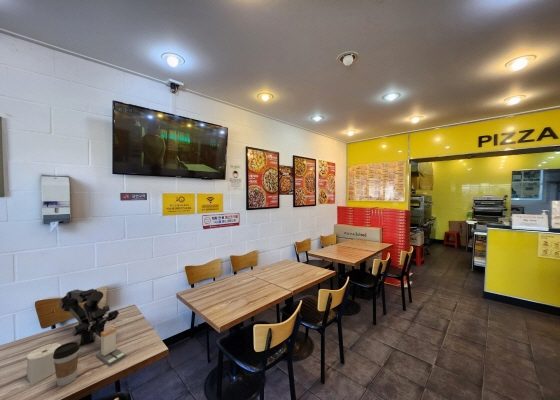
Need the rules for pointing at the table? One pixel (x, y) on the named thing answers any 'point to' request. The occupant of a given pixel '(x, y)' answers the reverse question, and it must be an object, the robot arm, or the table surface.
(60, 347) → the coffee cup
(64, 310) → the robot arm
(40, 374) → the toilet tissue
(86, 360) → the table surface
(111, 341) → the cream box
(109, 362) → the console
